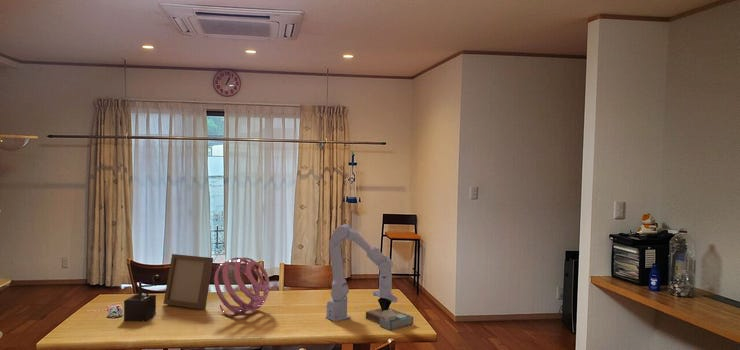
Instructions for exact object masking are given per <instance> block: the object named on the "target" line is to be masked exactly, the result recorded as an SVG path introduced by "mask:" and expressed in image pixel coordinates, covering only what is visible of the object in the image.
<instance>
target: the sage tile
mask: <svg viewBox="0 0 740 350" xmlns="http://www.w3.org/2000/svg"><path fill="white" fill-rule="evenodd" d="M404 318H408V316H406V315H403V314H397V315H396V318H395V320H393V321H397V320H401V319H404Z"/></svg>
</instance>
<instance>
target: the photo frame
mask: <svg viewBox="0 0 740 350" xmlns="http://www.w3.org/2000/svg"><path fill="white" fill-rule="evenodd" d="M213 263H214V257H207V256H206V257H205V256H198V255H197V256H195V255H188V254H187V255H186V254H185V255H184V254H176V253H171V258H170V264H169V265H170V266H169V270H168V276H167V281H166V288H165V293H164V298H163V299H164V300H163V305H170V306H177V307H183V308H184V307H186V308H192V309H197V310H199V309H200V310H203V309H206V308H207V307H206V306H207V301H208V295H209V289H210V288H209V287H210V282H211V278H212V277H211V276H212V270H213Z"/></svg>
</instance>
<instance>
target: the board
mask: <svg viewBox="0 0 740 350" xmlns="http://www.w3.org/2000/svg"><path fill="white" fill-rule="evenodd" d="M389 309H391V310H392V311H393V312H394V313H395V314H396V315H397V314H401V313H402V312H401V311H398V310H396V309H393V308H390V307H389ZM389 309H388V310H389ZM381 315H382V310H381V307H380V308H377V309H372V310H368V311H365V319H366V318H367V320H369V321H371V320H372V322H373V323H376V324H379V325H380V318H382V319H384V318H383V317H382V316H381ZM384 320H385V319H384ZM392 321H393V320H392ZM392 321H389V322H392Z"/></svg>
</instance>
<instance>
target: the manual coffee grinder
mask: <svg viewBox="0 0 740 350" xmlns="http://www.w3.org/2000/svg"><path fill="white" fill-rule="evenodd" d="M161 279H162V276H160V275H159V274H154V275H153V276H152V281H153V283H152V284H144V285H143V283H142V281H139V282H138V293H135V294H134V295H132V296H130V297H129V298H126V299H124V301H123V321H124V322H148V321H149V320H150V319H152V318H154V316H156V314H157V311H156V310H157V299H156V298H157V295H156V294H149V293H145V292H142V288H149V287H156V286H158V285H160V280H161Z"/></svg>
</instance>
